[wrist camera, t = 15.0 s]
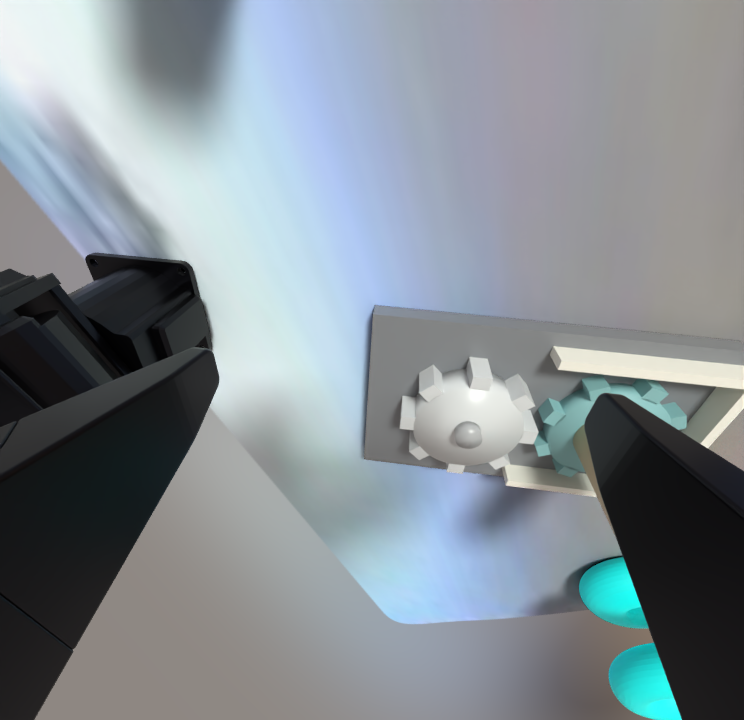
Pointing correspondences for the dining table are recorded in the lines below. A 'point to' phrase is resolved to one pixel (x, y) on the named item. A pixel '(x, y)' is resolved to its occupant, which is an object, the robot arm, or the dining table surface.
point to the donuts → (640, 663)
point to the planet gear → (568, 418)
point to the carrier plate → (523, 388)
